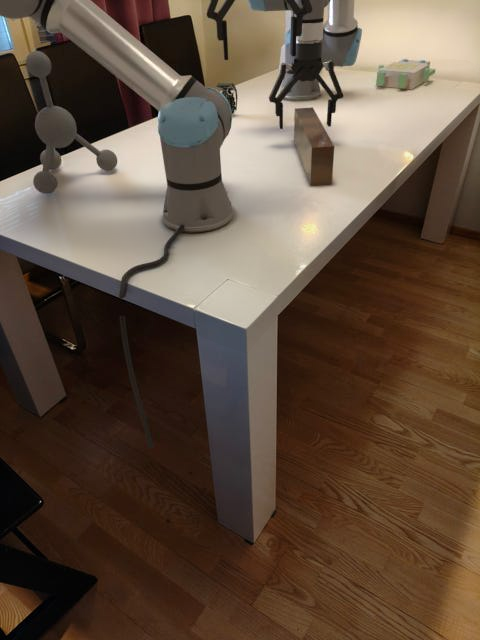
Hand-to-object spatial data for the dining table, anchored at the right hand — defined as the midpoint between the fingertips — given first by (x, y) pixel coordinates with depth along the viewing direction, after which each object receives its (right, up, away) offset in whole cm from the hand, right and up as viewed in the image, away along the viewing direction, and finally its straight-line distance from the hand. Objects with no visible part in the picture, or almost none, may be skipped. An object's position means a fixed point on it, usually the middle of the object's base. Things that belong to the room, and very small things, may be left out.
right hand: (304, 126), depth 138 cm
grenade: (-22, +16, +31) cm, 42 cm away
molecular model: (-62, -17, -8) cm, 64 cm away
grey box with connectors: (+46, +40, +56) cm, 83 cm away
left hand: (-15, -2, -40) cm, 43 cm away
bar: (+1, -12, -7) cm, 14 cm away
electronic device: (+5, +51, +74) cm, 90 cm away
